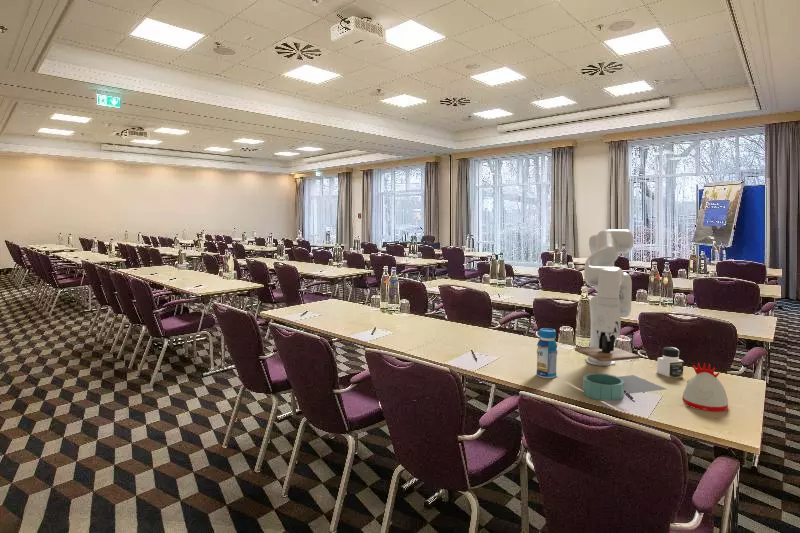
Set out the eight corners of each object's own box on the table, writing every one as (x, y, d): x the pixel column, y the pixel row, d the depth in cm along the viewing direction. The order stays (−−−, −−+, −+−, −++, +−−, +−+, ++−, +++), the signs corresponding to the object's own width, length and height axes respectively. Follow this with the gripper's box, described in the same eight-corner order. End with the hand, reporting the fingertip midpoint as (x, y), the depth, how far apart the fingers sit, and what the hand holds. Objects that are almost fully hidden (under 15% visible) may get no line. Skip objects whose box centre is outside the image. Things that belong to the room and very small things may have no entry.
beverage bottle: (557, 379, 204) (559, 332, 202) (536, 378, 205) (538, 331, 203) (555, 373, 212) (556, 328, 210) (535, 372, 213) (536, 327, 212)
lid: (574, 350, 190) (575, 333, 189) (609, 347, 195) (609, 330, 194) (602, 361, 175) (603, 342, 174) (639, 358, 179) (640, 339, 179)
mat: (597, 380, 203) (597, 378, 202) (633, 376, 207) (633, 375, 207) (628, 395, 185) (628, 393, 185) (667, 390, 190) (667, 389, 190)
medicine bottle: (669, 378, 204) (670, 350, 203) (656, 373, 211) (657, 346, 210) (683, 377, 206) (684, 349, 205) (669, 372, 213) (671, 345, 212)
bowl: (575, 390, 191) (576, 375, 190) (606, 386, 194) (606, 372, 194) (599, 403, 177) (600, 387, 177) (631, 399, 181) (632, 383, 180)
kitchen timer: (686, 394, 186) (688, 356, 185) (729, 403, 177) (732, 362, 176) (679, 405, 175) (681, 364, 174) (725, 414, 167) (727, 372, 165)
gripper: (585, 298, 190) (583, 345, 191) (614, 305, 174) (612, 356, 176) (601, 298, 192) (600, 344, 193) (632, 304, 176) (630, 354, 178)
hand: (606, 349), depth 184 cm, fingers closed on lid, 3 cm apart
